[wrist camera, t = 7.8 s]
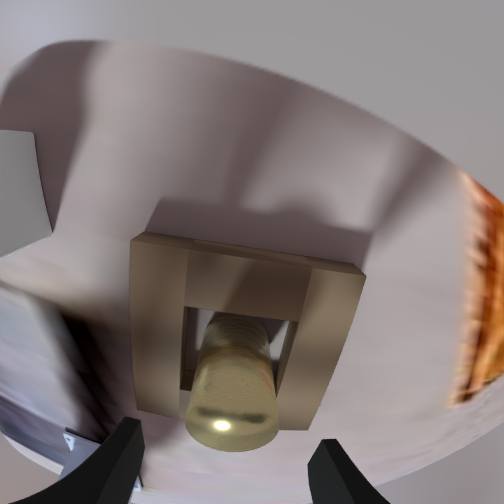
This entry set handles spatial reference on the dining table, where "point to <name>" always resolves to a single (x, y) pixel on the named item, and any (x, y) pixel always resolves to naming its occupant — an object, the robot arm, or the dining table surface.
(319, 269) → the square tan frame
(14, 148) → the medicine bottle
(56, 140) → the dining table surface
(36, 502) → the robot arm
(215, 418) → the brass peg
